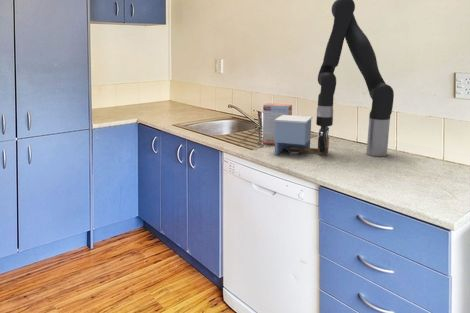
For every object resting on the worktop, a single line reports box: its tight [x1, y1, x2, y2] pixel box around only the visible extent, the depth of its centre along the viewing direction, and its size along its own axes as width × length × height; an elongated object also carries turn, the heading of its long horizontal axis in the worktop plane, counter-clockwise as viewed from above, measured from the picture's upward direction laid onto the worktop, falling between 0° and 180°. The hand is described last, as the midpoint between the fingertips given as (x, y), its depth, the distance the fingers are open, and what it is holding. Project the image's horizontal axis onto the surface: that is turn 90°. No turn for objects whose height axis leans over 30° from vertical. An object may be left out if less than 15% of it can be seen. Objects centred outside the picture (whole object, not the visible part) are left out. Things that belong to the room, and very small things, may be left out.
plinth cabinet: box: [274, 114, 313, 156], centre depth 206 cm, size 15×15×17 cm
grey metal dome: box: [288, 149, 301, 156], centre depth 206 cm, size 5×5×2 cm
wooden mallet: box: [287, 136, 330, 156], centre depth 207 cm, size 19×4×8 cm, turn 69°
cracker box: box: [262, 102, 293, 146], centre depth 223 cm, size 14×6×21 cm, turn 59°
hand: (322, 150), depth 205 cm, fingers open, 5 cm apart
